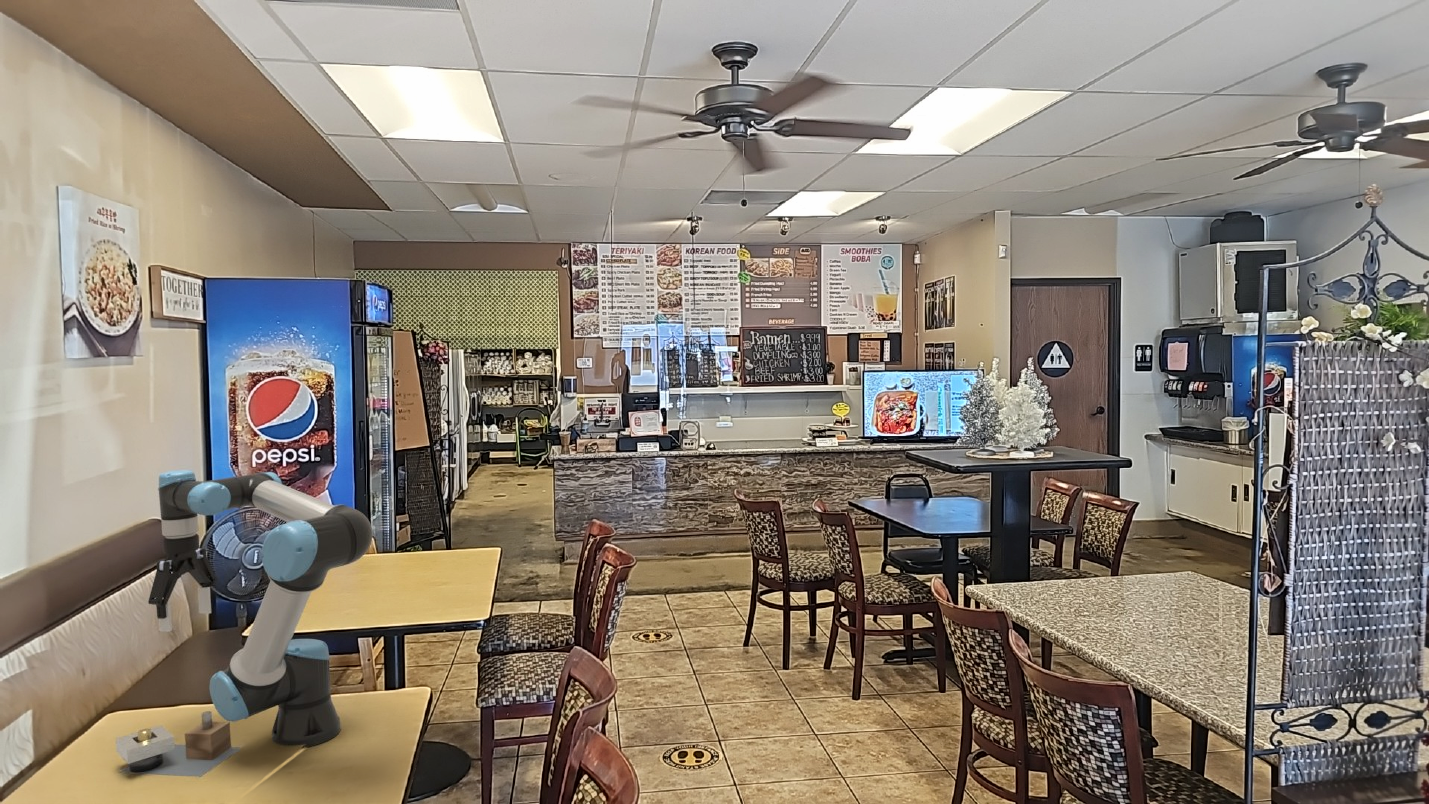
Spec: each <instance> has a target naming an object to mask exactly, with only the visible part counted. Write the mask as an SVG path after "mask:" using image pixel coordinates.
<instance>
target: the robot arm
mask: <svg viewBox="0 0 1429 804" xmlns="http://www.w3.org/2000/svg"><path fill="white" fill-rule="evenodd" d="M157 489H158V495H159V496H158V497H159V508H160V510H159V511H160V521H161V535H162V536H164V537H163V538H162V539H161V540H162V551H163V553H164V554H165V555H166V556H167V557H166V560H163V561H161V560H159V561H157V562H156V569H155V570H156V571H155V575H154V578H153V584H152V586H151V591H150V594H149V597H148V601H147V602H148V604H149V605H153V606H154V605H155V606H156V617H157V619H158V630H159V632H163V633H164V632H167V633H168V632H173V624H172V607H171V606H172V605H171V604H172V603H168V602H169V600H170V598H171V596H172V593H173V590H174V588H175V587H176V584H177V582H178V580H179V579H180V578H181V577H182V576H183V575H185V574H187V573H189V575H190V576H191V577H192V578H193V579H194V580H195V582H196V583H197V584H198V585H199V587H197V597H198V598H197V599H198V613H199V614H202V615H203V614H206V615H210V614H212V603H211V598H212V591H211V589H212V588H211V587H215V584H216V582H217V576H216V573H215V572H214V569H213V568H212V566H211V563H210V561H209V559H208V555H207V550H206V548H200V536H199V534H198V532H199V529H200V528H199V517H198V515H200V516H201V515H202V516H206V517H207V516H216V515H220V514H221V513H223V512H224V511H228V510H233V509H238V508H244V507H252V508H255V509H258V510H260V511H262V512H265V514H269V515H272V516H273V517H275V518H277V519H280V520H283V521H284V522H287V523H283V524H280V525H278V526H276V527H274V528H272V529H271V531H270V532H269V533H268V534H267V535H266V538H264V541H263V545H262V547H261V555H263V557H262V558H261V563H262V565H263V569H264V572H265V573H266V574H267V576H268V579H269V580H270V581H269V583H268V586H267V589H266V592H265V593H264V596H263V598H262V601H261V603H260V606H259V608H258V610H257V613H256V615H255V618H254V621H253V624H252V625H251V628H250V631H249V634H248V636H247V638H246V641H245V643H244V646H243V648H241V649H239V650H238V651H237V652H236V653H234V654H233V655H232V657H231V659H230V662H229V664H228V666H227V668H226V669H225V670H219V671H218V672H216V673H215V674H213V675H212V676H211V678H210V681H209V694H210V698H211V701H212V704H213V706H214V709H215V710H216V711H217V713H218V714H219V716H220V717H221V718H222V719H224V720H226V721H228V722H234V723H235V722H238V721H241V720H244V719H245V720H247V719H249V718H250V717H253V716H255V715H258V714H260V713H263V712H266V711H267V710H270V709H272V708H274V707H277V706H278V707H277V713H276V717H275V720H274V723H273V726H272V729H271V740H272V742H273V743H275V744H278V745H282V746H301V748H302V749H304V748H308V747H313V746H316V745H320V744H323V743H325V742H327V741H329V740H331V739H333V738H334V737H336V736H337V735H339V733H340V731H341V720H340V717H339V715H338V713H337V710H336V708H335V705H334V703H333V700H332V693H331V691H332V690H331V689H332V688H331V673H330V672H331V671H330V660H331V658H330V654H329V653H330V652H329V647H328V645H327V643H326V642H325V641H323V640H322V639H321V640H320V639H315V638H295V639H294V638H293V636H294V634H295V631H296V630H297V626H298V625H299V622H300V619H301V617H302V615H303V612H304V610H305V608H306V606H307V603H308V600H309V598H310V596H311V594H312V592H313V591H316V590H318V589H320V587H321V586H322V585H323V584H324V581H325V579H326V577H327V575H328V572H329V571H330V570H332V569H333V570H334V569H336V568H339V567H344V566H347V565H350V564H353V563H355V562H357V561H358V560H360V559H361V558H362V557H363V556H364V555H365V554H366V553H367V552H368V550H369V549H370V546H371V544H372V542H373V535H374V534H373V527H372V525H371V522H370V521H369V518H368V517H366V515H365V514H364V513H363V512H361V511H359V510H358V509H355V508H353V507H350V506H349V505H346V504H341V503H340V504H336V505H334V504H331V503H329V502H327V501H325V500H322V499H319V498H317V497H314V496H312V495H310V494H308V493H305V492H302V491H299V490H296V489H294V488H291V487H289V486H287V485H285V484H283V483H282V480H281V478H280V477H279V476H278V474H276V473H275V472H272V471H268V472H263V471H262V472H255V473H251V474H243V475H238V476H232V477H225V478H218V479H217V478H216V479H211V480H205V481H204V480H203V481H202V480H201V481H199V480H197V479H196V474H195V472H194V471H193V470H190V469H182V470H181V469H179V470H178V469H177V470H169V471H164V472H162V473H160V474H159V476H158V488H157Z"/></svg>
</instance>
